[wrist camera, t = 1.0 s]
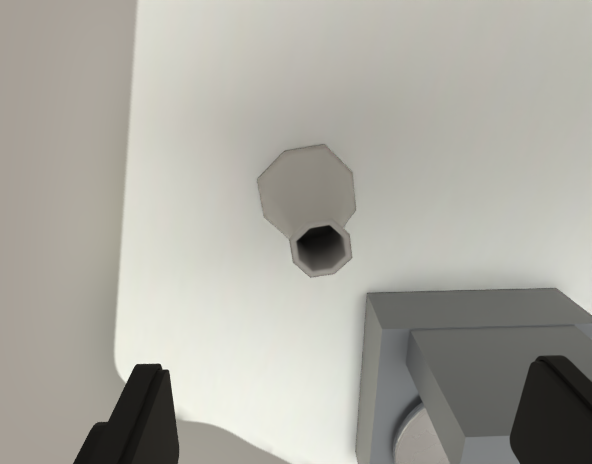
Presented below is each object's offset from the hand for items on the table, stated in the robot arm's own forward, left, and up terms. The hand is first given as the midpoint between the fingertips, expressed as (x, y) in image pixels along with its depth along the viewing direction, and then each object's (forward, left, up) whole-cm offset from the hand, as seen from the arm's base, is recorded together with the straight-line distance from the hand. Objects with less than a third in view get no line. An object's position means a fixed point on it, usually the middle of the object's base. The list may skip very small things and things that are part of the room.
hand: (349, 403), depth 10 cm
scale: (-13, +18, -20) cm, 30 cm away
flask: (0, 0, -21) cm, 21 cm away
